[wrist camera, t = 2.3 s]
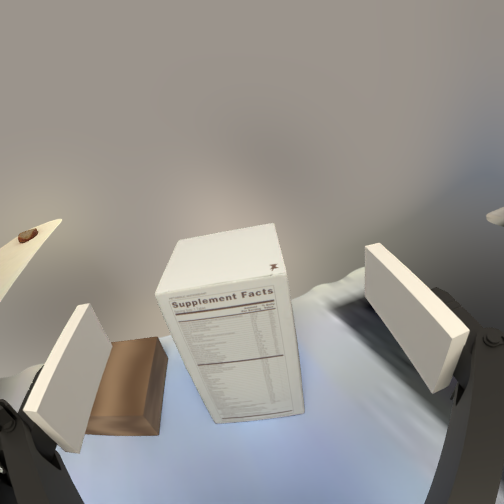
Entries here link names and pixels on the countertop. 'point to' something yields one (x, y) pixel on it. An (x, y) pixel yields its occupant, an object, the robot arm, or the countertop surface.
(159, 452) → the countertop surface
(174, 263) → the supplement box
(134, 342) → the walnut base
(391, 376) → the countertop surface
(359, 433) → the countertop surface
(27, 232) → the slice of bread
